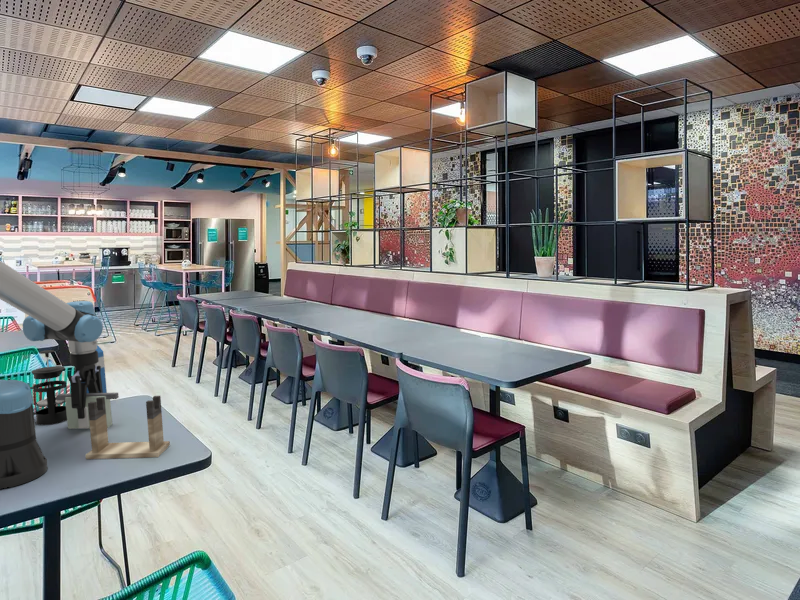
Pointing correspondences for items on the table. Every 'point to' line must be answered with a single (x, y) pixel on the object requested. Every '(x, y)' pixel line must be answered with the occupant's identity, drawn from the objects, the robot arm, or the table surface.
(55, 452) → the table surface
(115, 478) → the table surface
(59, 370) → the french press
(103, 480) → the table surface
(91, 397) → the hanging file folder
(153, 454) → the hinge frame
